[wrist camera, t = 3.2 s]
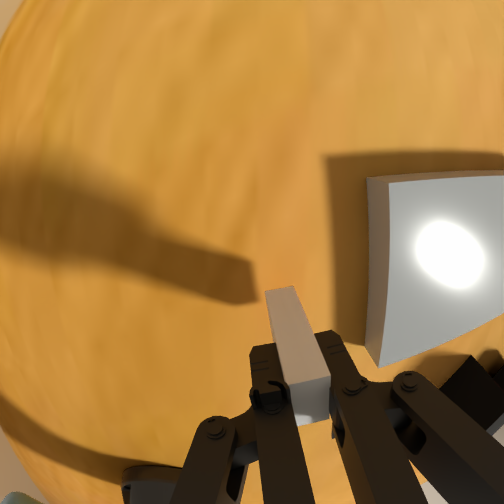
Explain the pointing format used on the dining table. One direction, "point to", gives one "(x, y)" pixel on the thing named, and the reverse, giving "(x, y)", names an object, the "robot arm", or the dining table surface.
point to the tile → (432, 259)
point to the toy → (478, 394)
